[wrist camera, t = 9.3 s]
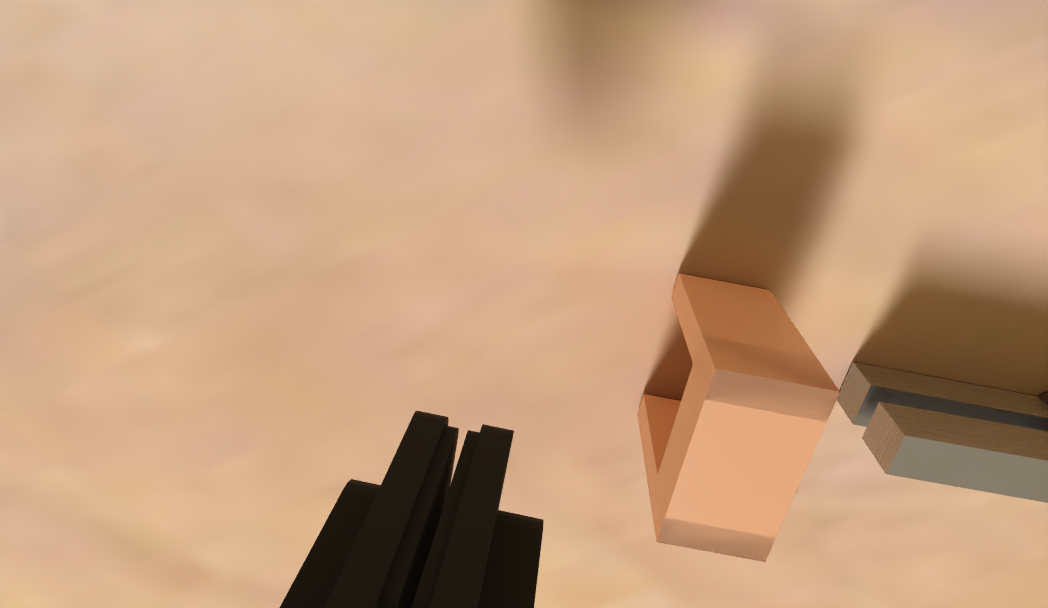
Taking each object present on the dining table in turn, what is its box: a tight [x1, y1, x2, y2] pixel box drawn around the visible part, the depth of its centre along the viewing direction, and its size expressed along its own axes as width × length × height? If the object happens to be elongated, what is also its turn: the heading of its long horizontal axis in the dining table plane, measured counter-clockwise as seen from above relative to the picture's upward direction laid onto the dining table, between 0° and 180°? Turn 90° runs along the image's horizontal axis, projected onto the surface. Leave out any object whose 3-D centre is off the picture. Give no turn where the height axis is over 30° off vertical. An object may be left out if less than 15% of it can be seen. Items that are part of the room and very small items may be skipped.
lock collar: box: [638, 273, 840, 562], centre depth 16 cm, size 2×4×5 cm, turn 170°
